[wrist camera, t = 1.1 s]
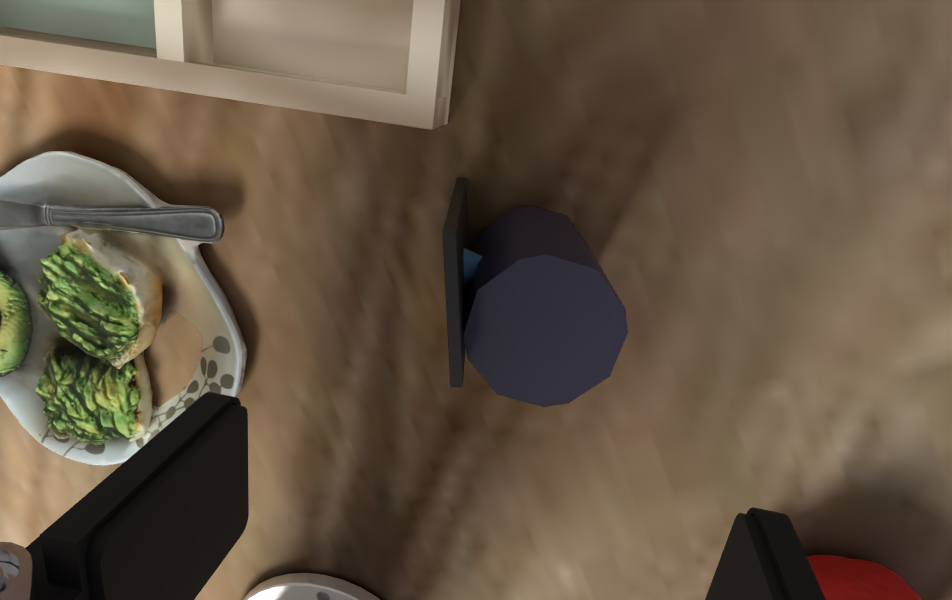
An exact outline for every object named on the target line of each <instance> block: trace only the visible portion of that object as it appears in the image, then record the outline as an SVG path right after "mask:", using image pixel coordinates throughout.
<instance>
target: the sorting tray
mask: <svg viewBox="0 0 952 600" xmlns="http://www.w3.org/2000/svg"><path fill="white" fill-rule="evenodd" d="M460 3H461V0H0V65H7V66H14V67H20V68H27V69H33V70H40V71H47V72H53V73H60V74H67V75H73V76H80V77H86V78H93V79H100V80H106V81H113V82H120V83H126V84H133V85H139V86H146V87H153V88H159V89H166V90H172V91H179V92H186V93H192V94H199V95H206V96H212V97H219V98H225V99H232V100H239V101H245V102H252V103H258V104H265V105H272V106H278V107H285V108H292V109H298V110H305V111H311V112H318V113H325V114H331V115H338V116H344V117H351V118H358V119H364V120H371V121H378V122H384V123H391V124H397V125H404V126H411V127H417V128H424V129H431V130H433V129H436V128H438V127H441V126H443V125H446V124H448V116H449V106H450V97H451V87H452V78H453V69H454V59H455V50H456V40H457V31H458V22H459V12H460Z"/></svg>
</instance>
